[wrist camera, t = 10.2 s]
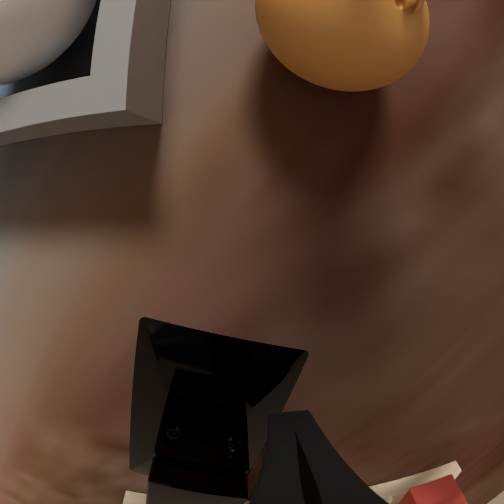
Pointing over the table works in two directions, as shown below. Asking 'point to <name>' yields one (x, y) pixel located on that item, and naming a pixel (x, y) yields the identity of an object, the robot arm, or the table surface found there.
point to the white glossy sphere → (37, 33)
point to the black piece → (203, 410)
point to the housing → (101, 79)
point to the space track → (397, 488)
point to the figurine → (345, 39)
